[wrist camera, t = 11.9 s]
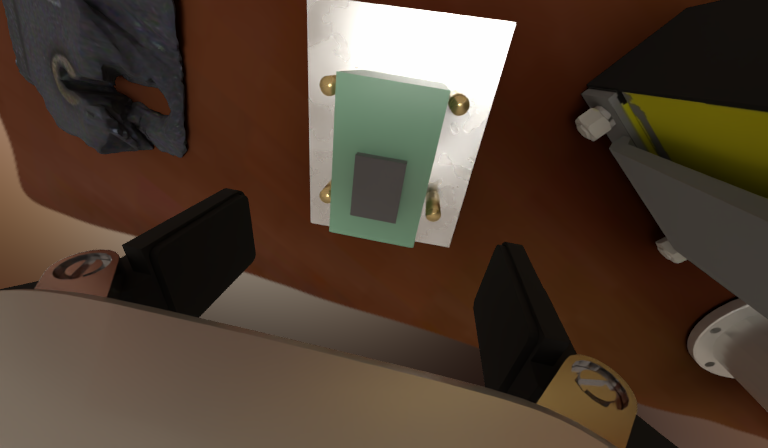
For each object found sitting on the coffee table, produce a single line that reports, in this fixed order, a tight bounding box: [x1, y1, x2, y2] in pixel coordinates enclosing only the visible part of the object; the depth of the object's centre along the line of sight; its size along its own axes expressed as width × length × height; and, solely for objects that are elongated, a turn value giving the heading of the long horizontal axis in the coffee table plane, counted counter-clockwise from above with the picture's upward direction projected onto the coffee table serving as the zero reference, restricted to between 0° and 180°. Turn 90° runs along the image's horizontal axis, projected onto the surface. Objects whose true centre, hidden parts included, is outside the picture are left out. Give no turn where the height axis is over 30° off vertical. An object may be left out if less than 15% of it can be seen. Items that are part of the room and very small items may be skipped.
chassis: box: [307, 0, 516, 247], centre depth 22 cm, size 14×18×4 cm
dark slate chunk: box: [2, 0, 187, 158], centre depth 20 cm, size 15×22×5 cm
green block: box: [329, 70, 451, 248], centre depth 19 cm, size 6×10×8 cm, turn 172°
